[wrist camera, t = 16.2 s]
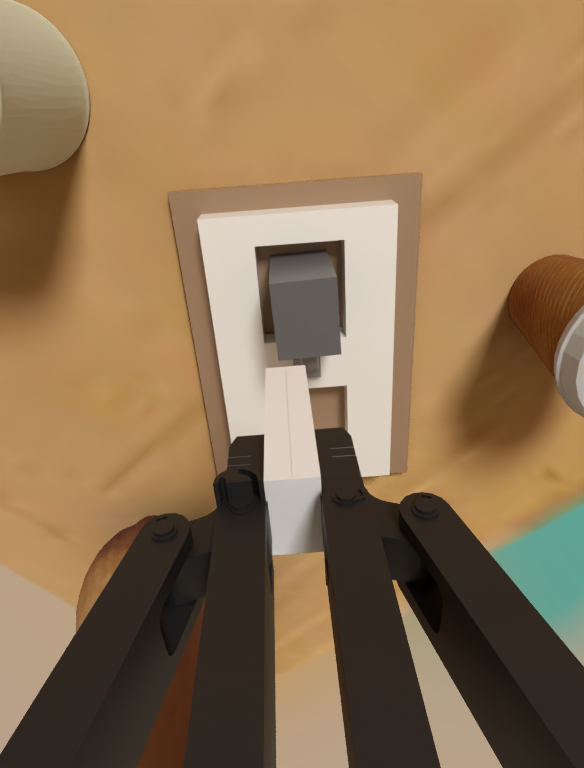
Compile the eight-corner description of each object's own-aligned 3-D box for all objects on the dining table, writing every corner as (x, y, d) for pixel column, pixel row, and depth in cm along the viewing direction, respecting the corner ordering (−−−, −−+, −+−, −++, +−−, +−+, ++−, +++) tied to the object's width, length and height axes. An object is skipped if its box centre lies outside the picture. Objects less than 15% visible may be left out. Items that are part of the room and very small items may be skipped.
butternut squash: (74, 531, 48) (-96, 883, 26) (181, 466, 45) (90, 805, 23) (170, 608, 53) (96, 951, 31) (271, 555, 50) (267, 897, 28)
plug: (280, 342, 38) (281, 385, 32) (269, 255, 35) (268, 284, 29) (331, 337, 38) (342, 379, 32) (326, 249, 35) (336, 276, 29)
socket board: (220, 480, 45) (216, 505, 42) (169, 191, 34) (159, 198, 31) (404, 467, 45) (413, 491, 42) (419, 172, 34) (433, 177, 31)
